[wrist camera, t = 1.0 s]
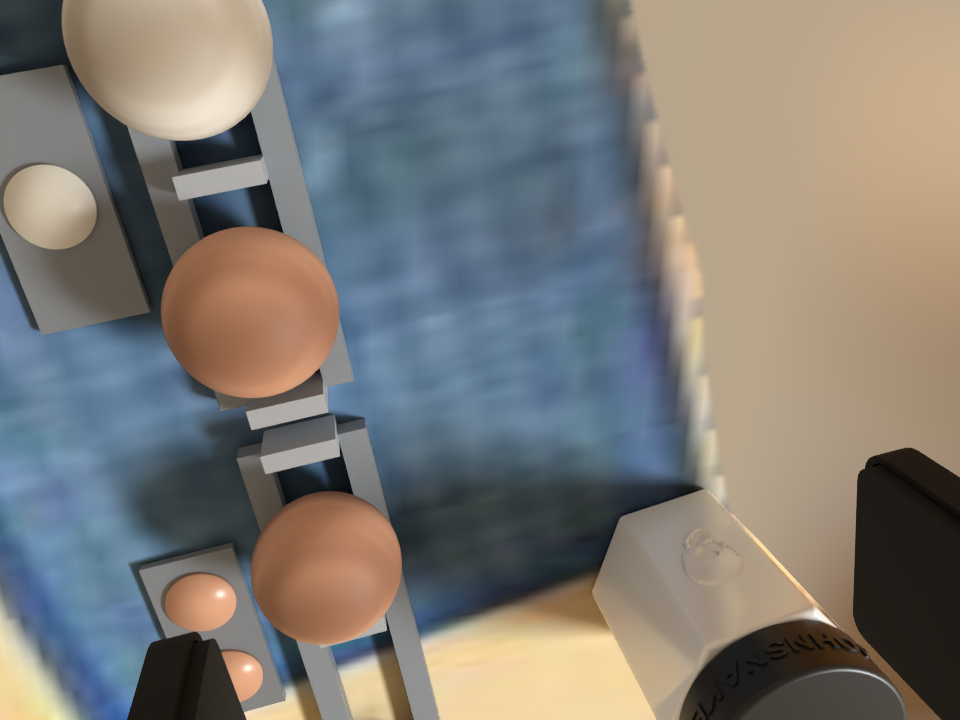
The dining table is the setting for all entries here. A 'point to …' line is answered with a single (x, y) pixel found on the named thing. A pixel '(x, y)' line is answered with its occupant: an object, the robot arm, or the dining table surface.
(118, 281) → the tiles
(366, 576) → the terracotta ball
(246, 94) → the cream ball
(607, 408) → the dining table surface
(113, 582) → the dining table surface
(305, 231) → the grey ball rail
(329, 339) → the terracotta ball
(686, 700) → the jar
